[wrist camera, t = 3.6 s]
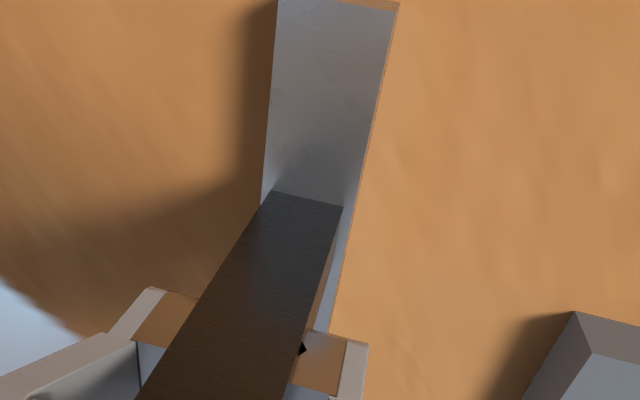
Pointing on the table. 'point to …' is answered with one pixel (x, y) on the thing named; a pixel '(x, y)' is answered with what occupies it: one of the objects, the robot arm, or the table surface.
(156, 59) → the table surface
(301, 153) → the upside-down t block
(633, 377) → the slate tile
